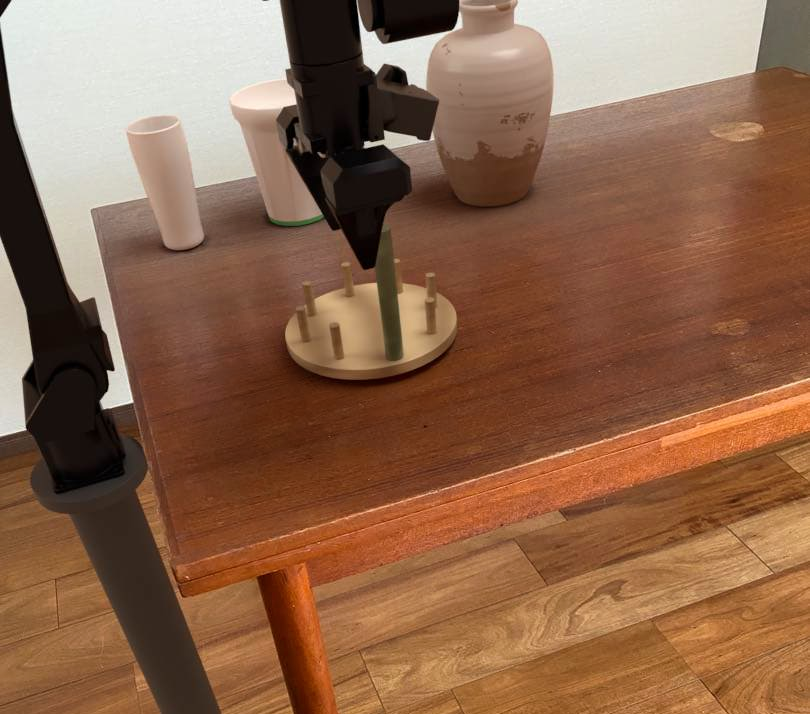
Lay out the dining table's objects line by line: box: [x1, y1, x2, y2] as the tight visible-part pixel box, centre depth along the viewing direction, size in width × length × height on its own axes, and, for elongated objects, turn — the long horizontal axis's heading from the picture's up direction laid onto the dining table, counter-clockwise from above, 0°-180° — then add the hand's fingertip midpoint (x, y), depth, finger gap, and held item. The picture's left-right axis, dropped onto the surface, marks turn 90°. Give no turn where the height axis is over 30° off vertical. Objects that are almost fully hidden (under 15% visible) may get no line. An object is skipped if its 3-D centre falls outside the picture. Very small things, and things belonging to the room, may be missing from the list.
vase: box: [425, 0, 555, 208], centre depth 112 cm, size 16×16×23 cm
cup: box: [228, 77, 325, 227], centre depth 115 cm, size 12×12×15 cm
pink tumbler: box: [125, 114, 205, 251], centre depth 111 cm, size 7×7×15 cm
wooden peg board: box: [284, 223, 458, 381], centre depth 88 cm, size 18×18×14 cm
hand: (352, 248), depth 79 cm, fingers open, 9 cm apart
